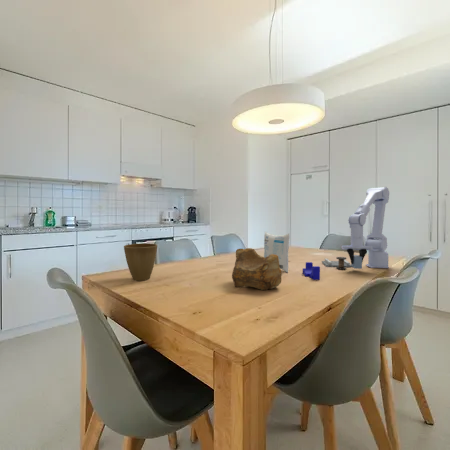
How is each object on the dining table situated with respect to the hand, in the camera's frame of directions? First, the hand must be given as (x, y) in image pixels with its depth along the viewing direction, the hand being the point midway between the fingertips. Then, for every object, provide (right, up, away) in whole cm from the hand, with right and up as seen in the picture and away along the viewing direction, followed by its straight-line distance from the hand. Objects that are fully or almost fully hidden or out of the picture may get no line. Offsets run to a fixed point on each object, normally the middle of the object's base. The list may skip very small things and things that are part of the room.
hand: (356, 263), depth 145 cm
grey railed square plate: (-3, -3, +18) cm, 18 cm away
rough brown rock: (-57, -6, -28) cm, 64 cm away
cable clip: (-27, -5, -11) cm, 30 cm away
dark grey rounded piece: (-5, -4, +7) cm, 9 cm away
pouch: (-41, -4, +6) cm, 41 cm away
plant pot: (-107, -6, -14) cm, 108 cm away
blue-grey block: (0, -2, 0) cm, 2 cm away
